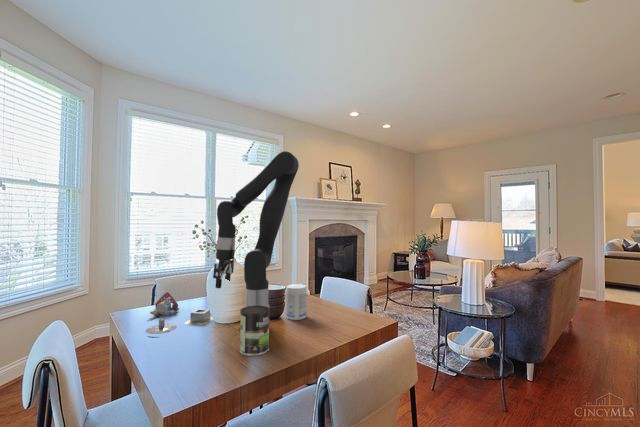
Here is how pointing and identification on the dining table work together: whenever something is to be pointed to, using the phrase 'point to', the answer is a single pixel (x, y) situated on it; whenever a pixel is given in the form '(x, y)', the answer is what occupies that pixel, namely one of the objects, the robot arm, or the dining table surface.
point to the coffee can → (254, 330)
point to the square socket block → (200, 315)
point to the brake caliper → (165, 306)
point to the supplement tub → (296, 302)
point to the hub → (160, 328)
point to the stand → (199, 323)
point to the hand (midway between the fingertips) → (222, 285)
